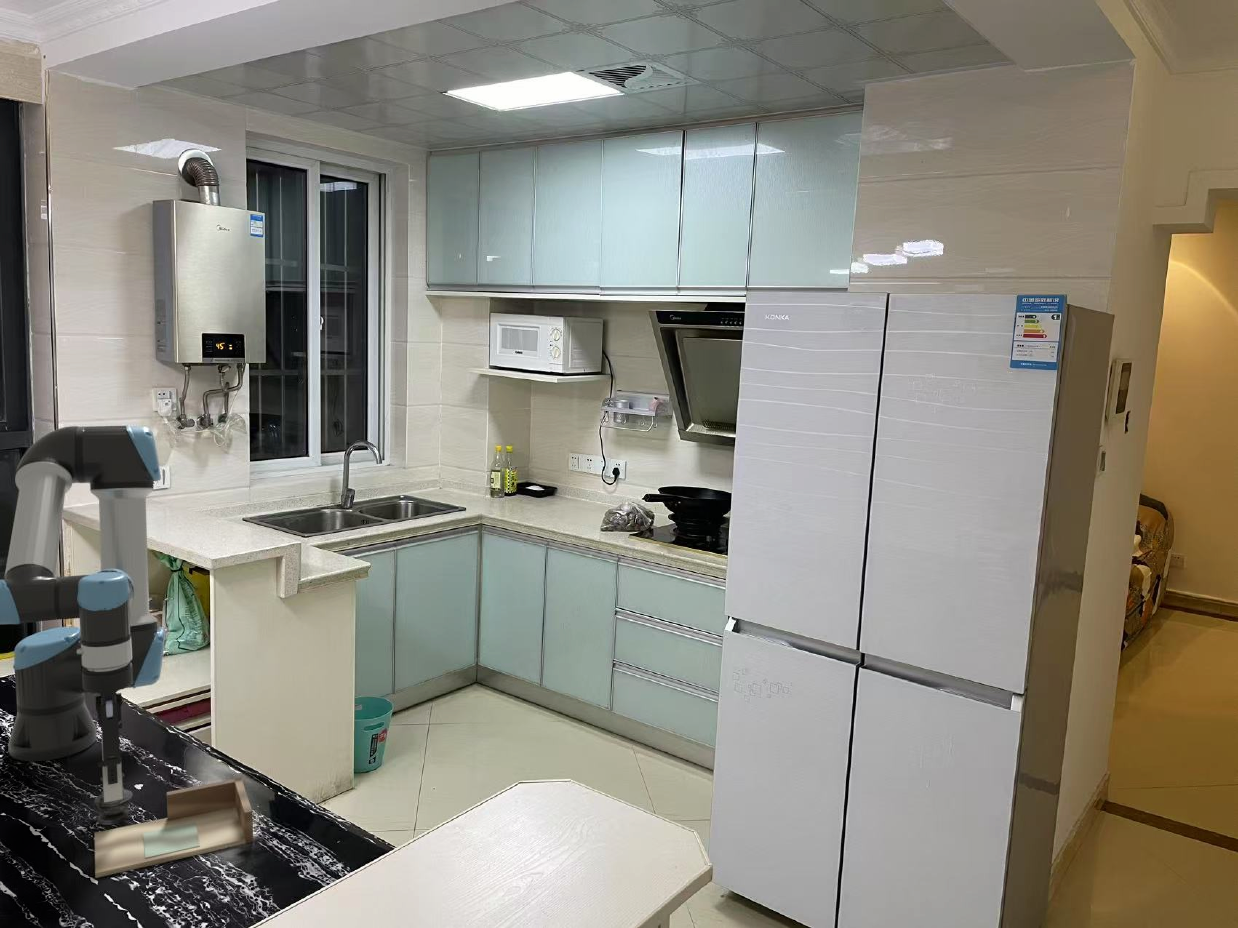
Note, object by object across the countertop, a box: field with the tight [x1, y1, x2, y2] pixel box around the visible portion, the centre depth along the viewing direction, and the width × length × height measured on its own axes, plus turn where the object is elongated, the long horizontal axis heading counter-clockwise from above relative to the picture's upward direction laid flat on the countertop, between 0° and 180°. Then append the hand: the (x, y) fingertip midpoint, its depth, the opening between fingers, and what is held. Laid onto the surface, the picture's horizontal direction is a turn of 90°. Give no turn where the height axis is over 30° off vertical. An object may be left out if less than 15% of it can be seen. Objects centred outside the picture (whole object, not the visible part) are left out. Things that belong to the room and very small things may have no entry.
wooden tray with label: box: [94, 777, 254, 879], centre depth 154 cm, size 13×23×6 cm, turn 120°
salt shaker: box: [93, 756, 133, 826], centre depth 160 cm, size 6×6×12 cm
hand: (112, 782), depth 160 cm, fingers open, 13 cm apart
